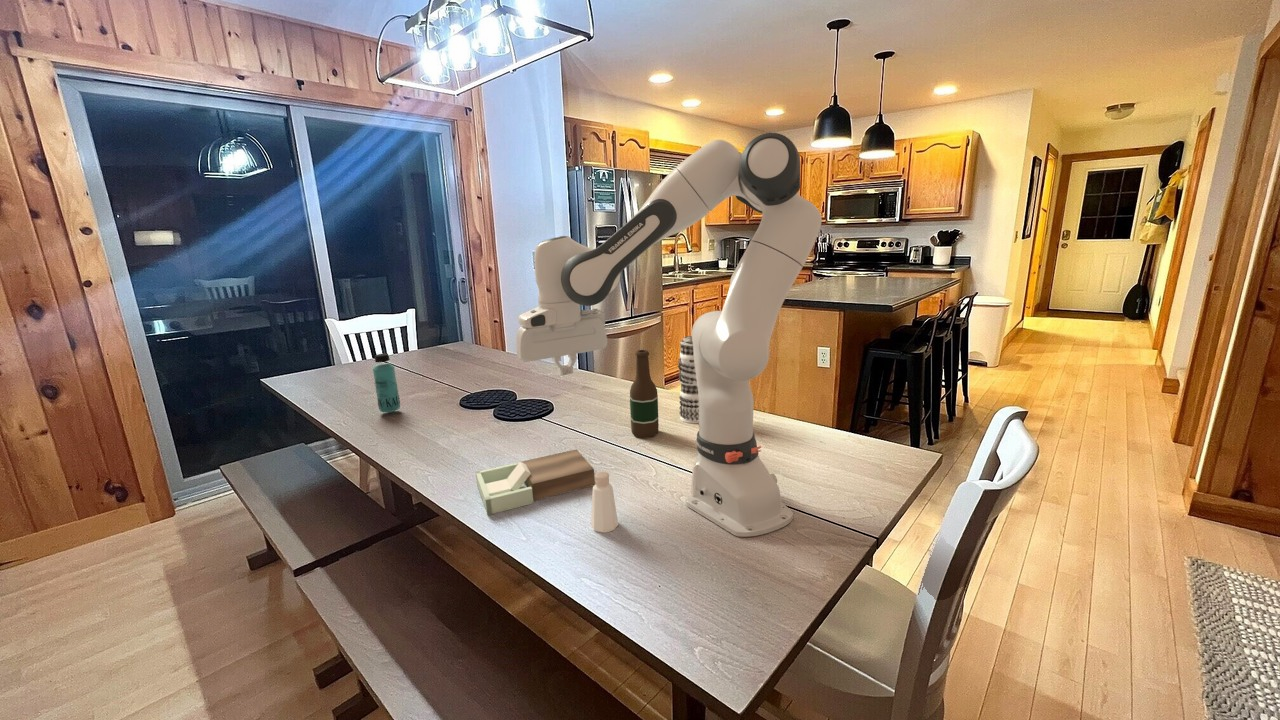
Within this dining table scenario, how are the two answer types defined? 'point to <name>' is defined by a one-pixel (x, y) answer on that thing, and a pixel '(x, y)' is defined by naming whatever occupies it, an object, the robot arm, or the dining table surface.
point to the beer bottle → (643, 400)
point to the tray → (505, 499)
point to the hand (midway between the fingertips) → (566, 374)
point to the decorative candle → (688, 383)
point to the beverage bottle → (386, 385)
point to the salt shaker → (603, 505)
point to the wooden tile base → (558, 474)
